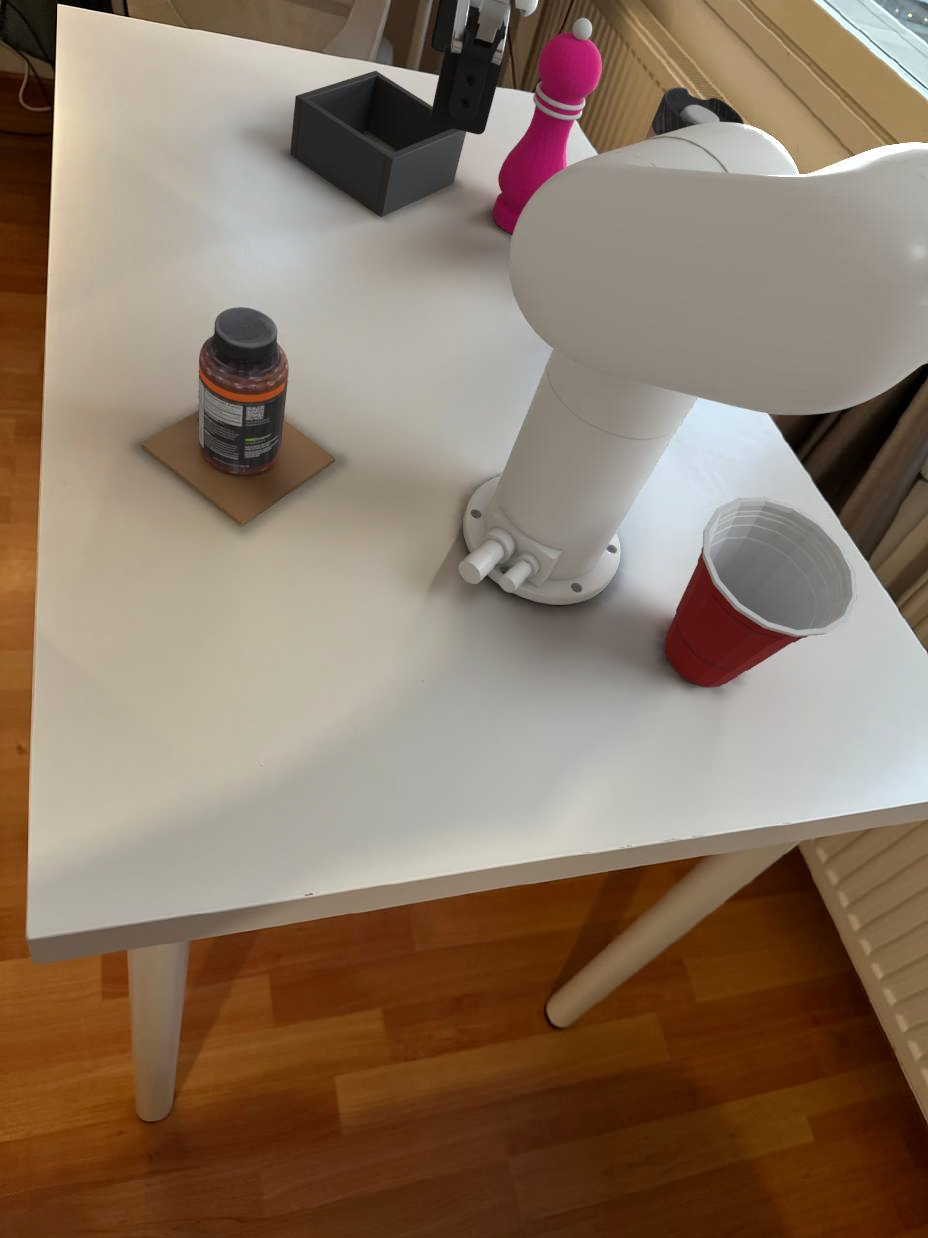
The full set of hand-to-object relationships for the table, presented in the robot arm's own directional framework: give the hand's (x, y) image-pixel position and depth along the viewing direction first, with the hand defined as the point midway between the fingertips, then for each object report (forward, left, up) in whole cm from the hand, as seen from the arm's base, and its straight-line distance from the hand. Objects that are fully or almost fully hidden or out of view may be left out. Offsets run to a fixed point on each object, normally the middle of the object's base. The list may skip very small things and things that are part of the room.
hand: (455, 88), depth 54 cm
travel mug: (+30, -6, -25) cm, 40 cm away
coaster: (-14, +3, -25) cm, 29 cm away
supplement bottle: (-14, +3, -25) cm, 28 cm away
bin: (+27, +24, -25) cm, 44 cm away
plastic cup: (-3, -33, -25) cm, 42 cm away
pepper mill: (+34, +9, -25) cm, 43 cm away
